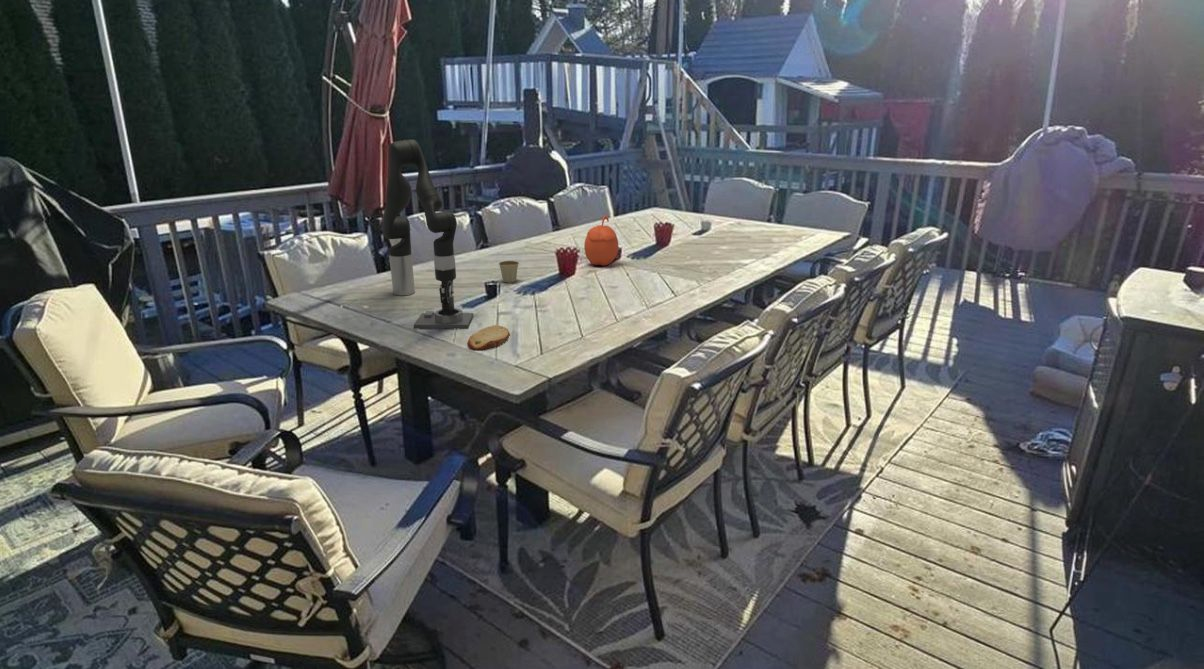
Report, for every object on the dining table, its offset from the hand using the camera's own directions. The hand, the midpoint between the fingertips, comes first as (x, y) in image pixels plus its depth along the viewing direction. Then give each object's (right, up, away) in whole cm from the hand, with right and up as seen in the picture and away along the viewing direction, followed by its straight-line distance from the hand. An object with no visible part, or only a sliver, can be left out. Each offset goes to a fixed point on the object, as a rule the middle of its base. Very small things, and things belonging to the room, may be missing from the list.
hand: (448, 309), depth 246 cm
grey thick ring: (0, -4, +1) cm, 4 cm away
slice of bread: (+18, -12, -14) cm, 25 cm away
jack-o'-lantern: (+58, +26, +88) cm, 109 cm away
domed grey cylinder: (0, -1, 0) cm, 1 cm away
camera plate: (-2, -5, +3) cm, 6 cm away
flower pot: (+15, +15, +58) cm, 62 cm away
